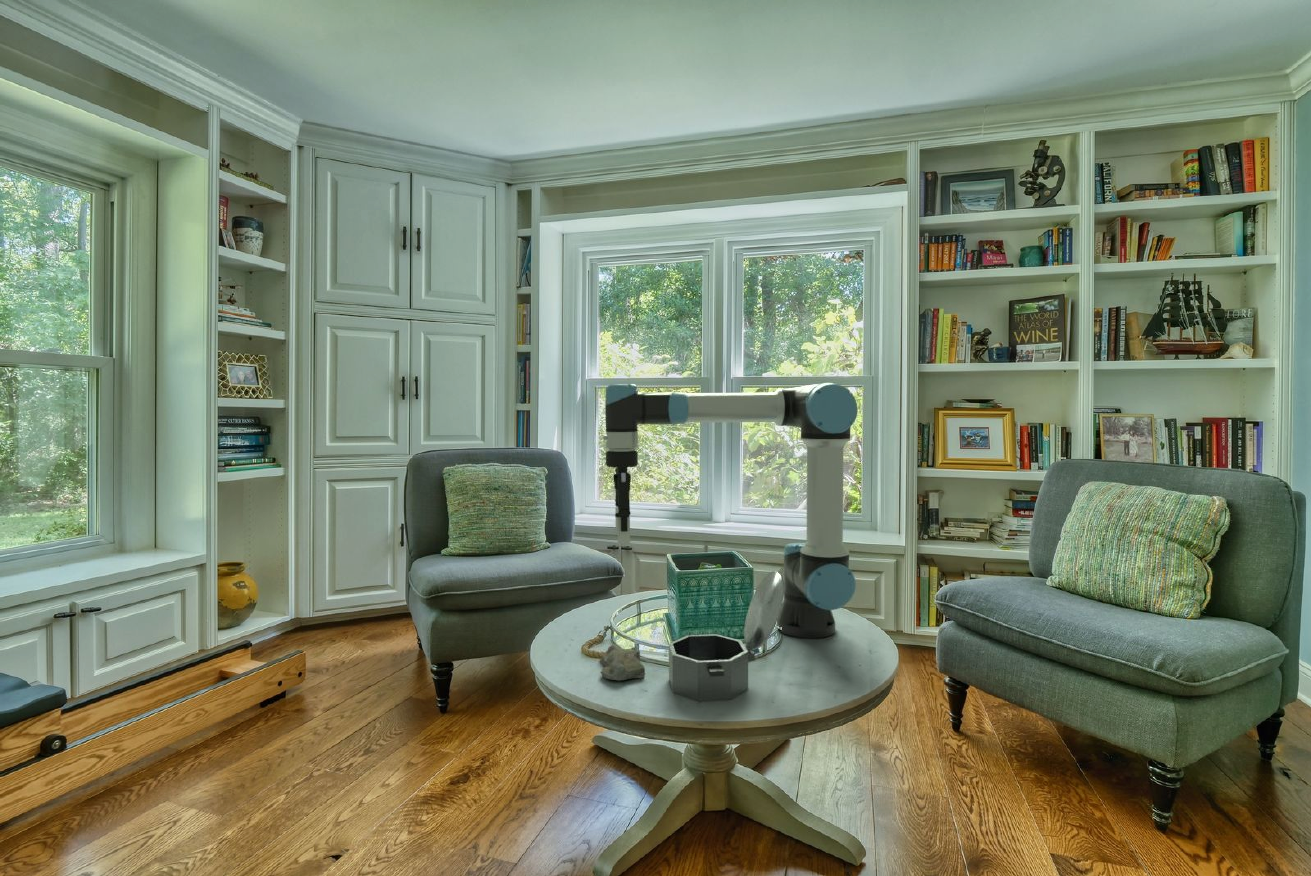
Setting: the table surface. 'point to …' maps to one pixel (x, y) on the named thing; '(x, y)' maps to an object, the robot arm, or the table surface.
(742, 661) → the pot
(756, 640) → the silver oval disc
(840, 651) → the table surface
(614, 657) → the stone
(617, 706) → the table surface
